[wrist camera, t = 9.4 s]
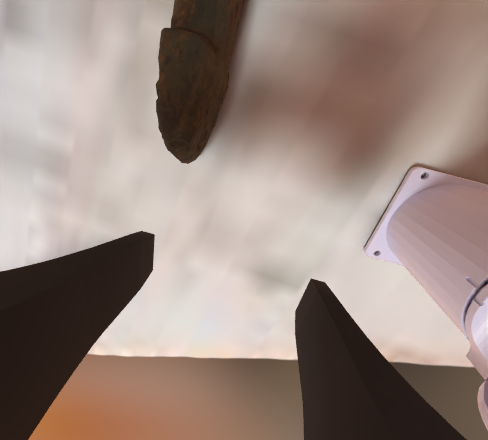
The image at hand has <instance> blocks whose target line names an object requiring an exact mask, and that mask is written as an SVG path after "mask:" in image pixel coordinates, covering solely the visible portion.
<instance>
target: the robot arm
mask: <svg viewBox="0 0 488 440" xmlns="http://www.w3.org/2000/svg"><path fill="white" fill-rule="evenodd" d="M423 173H426V175H425V177H424V178H421V175H422V174H423ZM154 236H155V235H154V234H151V233H147V232H143V231H140V232H136V233H133V234H130V235H127V236H124V237H121V238H118V239H115V240H113V241H110V242H107V243H104V244H101V245H98V246H95V247H92V248H89V249H86V250H82V251H79V252H76V253H72V254H69V255H66V256H63V257H59V258H56V259H52V260H49V261H45V262H41V263H37V264H33V265H29V266H24V267H20V268H16V269H11V270H7V271H2V272H0V440H28V439H29V437H30V436H31V434H32V433H33V431H34V430H35V428H36V427H37V425H38V424H39V422H40V421H41V419H42V418H43V416H44V415H45V413H46V412H47V410H48V409H49V407H50V405H51V404H52V403H53V401H54V400H55V398H56V397H57V395H58V394H59V392H60V391H61V389H62V388H63V387H64V385H65V384H66V382H67V381H68V379H69V378H70V376H71V375H72V373H73V372H74V370H75V369H76V368H77V367H78V365H79V364H80V362H81V361H82V359H83V358H84V357H85V355H86V354H87V353H88V351H89V350H90V349H91V347H92V346H93V344H94V343H95V342H96V341H97V339H98V338H99V337H100V336H101V334H102V333H103V332H104V331H105V330H106V329H107V327H108V326H109V325H110V324H111V323H112V322H113V320H114V319H115V318H116V317H117V316H118V315H119V314H120V312H121V311H122V310H123V309H124V308H125V307H126V305H127V304H128V303H129V302H130V301H131V300H132V298H133V297H134V296H135V295H136V294H137V292H138V291H139V290H140V289H141V287H142V286H143V284H144V283H145V281H146V280H147V278H148V277H149V275H150V274H151V272H152V271H153V255H154ZM375 251H379V252H378V253H376V254H374V252H375ZM364 252H365V254H366V255H367V256H370V257H373V258H377V259H380V260H384V261H387V262H391V263H394V264H398V265H401V266H404V267H405V268H406V269H407V270H408V271H409V272H410V273H411V275H412V276H413V277H414V278H415V279H416V280H417V281H418V283H419V284H420V285H421V286H422V287H423V288H424V289H425V291H426V292H427V293H428V294H429V295H430V296H431V297H432V299H433V300H434V301H435V302H436V303H437V304H438V305H439V307H440V308H441V309H442V310H443V311H444V312H445V313H446V315H447V316H448V317H449V318H450V319H451V320H452V321H453V323H454V324H455V325H456V326H457V327H458V328H459V329H460V331H461V332H462V333H463V334H464V335H465V336H466V337H467V339H468V340H469V341H470V350H469V352H468V353H467V355H466V357H467V358H468V359H469V360H470V362H471V363H472V364H473V365H474V367H475V368H476V369H477V370H478V372H479V373H480V374H481V375H482V376H483V378H484V379H485V380H486V381H485V382H484V383H483V384H482V385H481V387H480V388H479V392H478V407H479V410H480V414H481V417H482V419H483V421H484V424H485V426H486V428H487V430H488V184H484V183H480V182H476V181H473V180H469V179H465V178H461V177H457V176H453V175H449V174H445V173H442V172H438V171H434V170H430V169H426V168H422V167H413V168H412V169H410V170H409V172H408V174H407V175H406V177H405V179H404V180H403V182H402V184H401V186H400V187H399V189H398V191H397V193H396V194H395V196H394V198H393V200H392V201H391V203H390V205H389V206H388V208H387V210H386V212H385V213H384V215H383V217H382V219H381V220H380V222H379V224H378V226H377V227H376V229H375V231H374V233H373V234H372V236H371V238H370V239H369V241H368V243H367V245H366V246H365V248H364ZM295 336H296V346H297V355H298V363H299V372H300V381H301V389H302V400H303V417H304V440H466V439H465V438H464V437H463V436H462V435H461V434H460V433H459V432H458V431H456V430H455V429H454V428H453V427H452V426H451V425H450V424H449V423H448V422H447V421H446V420H445V419H444V418H443V417H442V416H441V415H440V414H439V413H438V412H437V411H436V410H435V409H434V408H433V407H431V406H430V405H429V404H428V403H427V402H426V401H425V400H424V399H423V398H422V397H421V396H420V395H419V394H418V393H417V392H416V391H415V390H414V389H413V388H412V387H411V385H409V383H408V382H407V381H406V380H405V379H404V378H403V377H402V376H401V375H400V374H399V373H398V372H397V371H396V370H395V368H394V367H393V366H392V365H391V364H390V363H389V362H388V361H387V360H386V359H385V357H384V356H383V355H382V354H381V353H380V352H379V351H378V349H377V348H376V347H375V346H374V345H373V343H372V342H371V341H370V340H369V339H368V338H367V336H366V335H365V334H364V333H363V331H362V330H361V329H360V328H359V326H358V325H357V324H356V323H355V321H354V320H353V319H352V317H351V316H350V315H349V313H348V312H347V311H346V309H345V308H344V307H343V305H342V304H341V303H340V301H339V300H338V299H337V297H336V296H335V295H334V293H333V292H332V291H331V290H330V288H329V287H328V286H327V285H326V283H325V282H322V281H318V280H314V279H311V280H310V282H309V284H308V286H307V288H306V290H305V292H304V294H303V296H302V299H301V301H300V303H299V305H298V307H297V309H296V311H295Z"/></svg>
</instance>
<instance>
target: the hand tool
mask: <svg viewBox="0 0 488 440" xmlns="http://www.w3.org/2000/svg"><path fill="white" fill-rule="evenodd" d="M243 1H244V0H175V1H174V9H173V16H172V19H171V28H164V29H163V30H162V31H161V38H160V49H159V56H158V60H159V80H158V81H157V83H156V90H157V95H158V99H157V100H156V112H157V116H158V123H159V130H160V132H161V134H162V138H163V139H164V144H165V146H166V147H167V149H168V151H170V152H171V153H172V154H173V155H174V156H175V157H176V158H177V159H178V160H180V161H181V163H187V164H188V163H190V162H192V161H194V160H196V159H197V157H198V156H199V155H200V153H201V151H202V150H203V148H204V147H205V145H206V142H207V139H208V138H209V136H210V133H211V130H212V128H213V127H214V125H215V122H216V119H217V115H218V112H219V109H220V106H221V104H222V102H223V99H224V96H225V93H226V91H227V88H228V81H229V73H228V70H229V62H230V56H231V52H232V48H233V43H234V39H235V35H236V31H237V26H238V22H239V19H240V15H241V10H242V6H243Z"/></svg>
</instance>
